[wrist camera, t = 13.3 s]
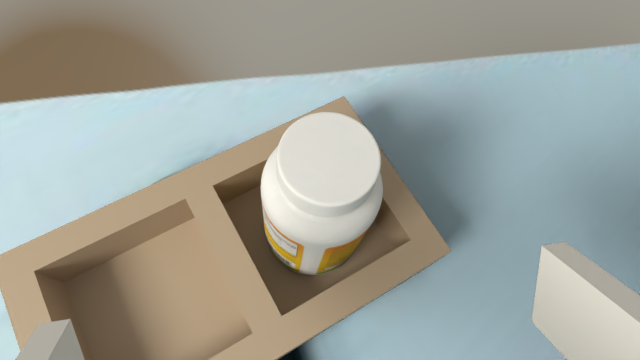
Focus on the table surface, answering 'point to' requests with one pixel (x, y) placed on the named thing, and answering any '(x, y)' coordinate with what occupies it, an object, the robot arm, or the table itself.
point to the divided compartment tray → (206, 266)
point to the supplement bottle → (320, 192)
